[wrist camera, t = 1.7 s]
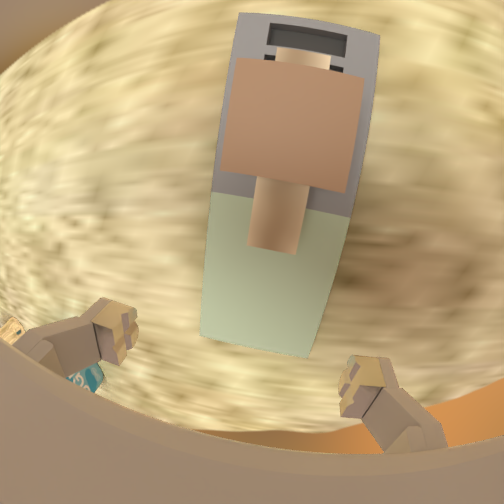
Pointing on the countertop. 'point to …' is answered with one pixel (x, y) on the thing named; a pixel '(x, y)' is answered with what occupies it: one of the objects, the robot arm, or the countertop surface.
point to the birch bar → (281, 187)
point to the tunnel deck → (285, 177)
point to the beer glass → (11, 330)
